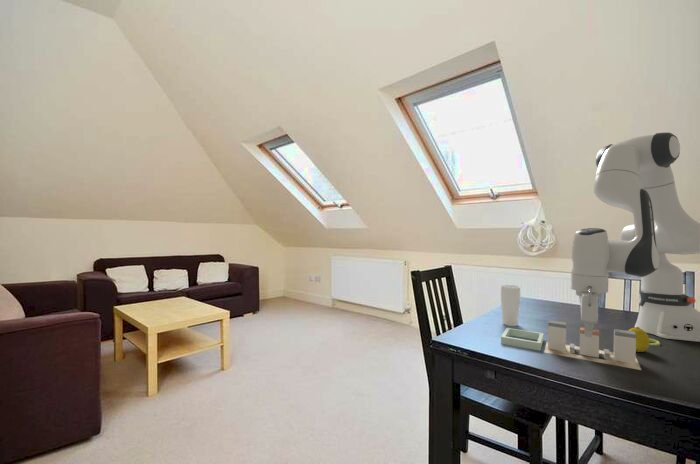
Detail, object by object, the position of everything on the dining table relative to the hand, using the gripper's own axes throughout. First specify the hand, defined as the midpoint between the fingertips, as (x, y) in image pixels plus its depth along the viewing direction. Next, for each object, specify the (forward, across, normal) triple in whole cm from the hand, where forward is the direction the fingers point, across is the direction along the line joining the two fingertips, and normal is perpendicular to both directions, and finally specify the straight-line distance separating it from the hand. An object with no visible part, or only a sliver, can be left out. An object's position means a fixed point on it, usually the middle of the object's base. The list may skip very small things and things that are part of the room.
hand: (587, 331), depth 99 cm
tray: (+8, +1, +17) cm, 19 cm away
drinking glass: (+8, +20, +24) cm, 32 cm away
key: (+8, +28, -16) cm, 33 cm away
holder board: (+7, 0, 0) cm, 7 cm away
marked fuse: (+7, 0, 0) cm, 7 cm away
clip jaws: (+7, 0, 0) cm, 7 cm away
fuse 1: (+7, 0, +8) cm, 10 cm away
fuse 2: (+6, 0, -8) cm, 11 cm away
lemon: (+7, +11, -12) cm, 18 cm away
